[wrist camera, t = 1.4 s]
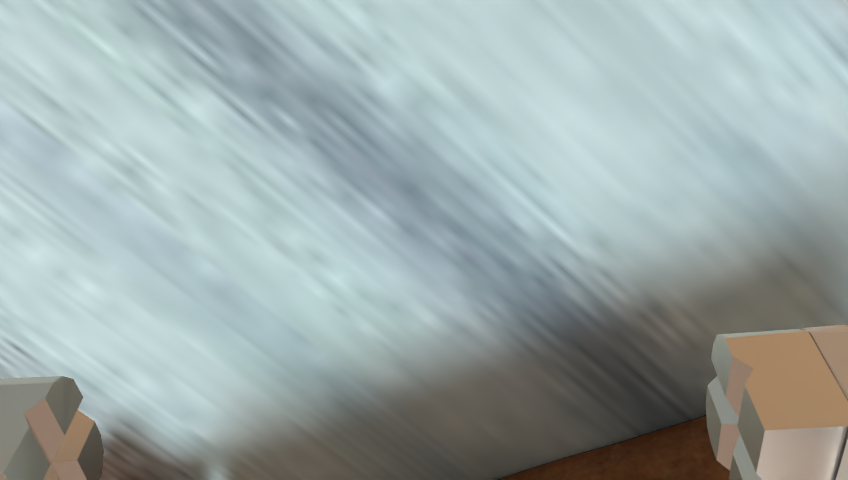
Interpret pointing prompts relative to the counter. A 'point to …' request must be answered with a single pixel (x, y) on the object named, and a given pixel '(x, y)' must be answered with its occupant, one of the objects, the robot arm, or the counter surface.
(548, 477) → the bread
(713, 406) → the robot arm
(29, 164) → the counter surface
